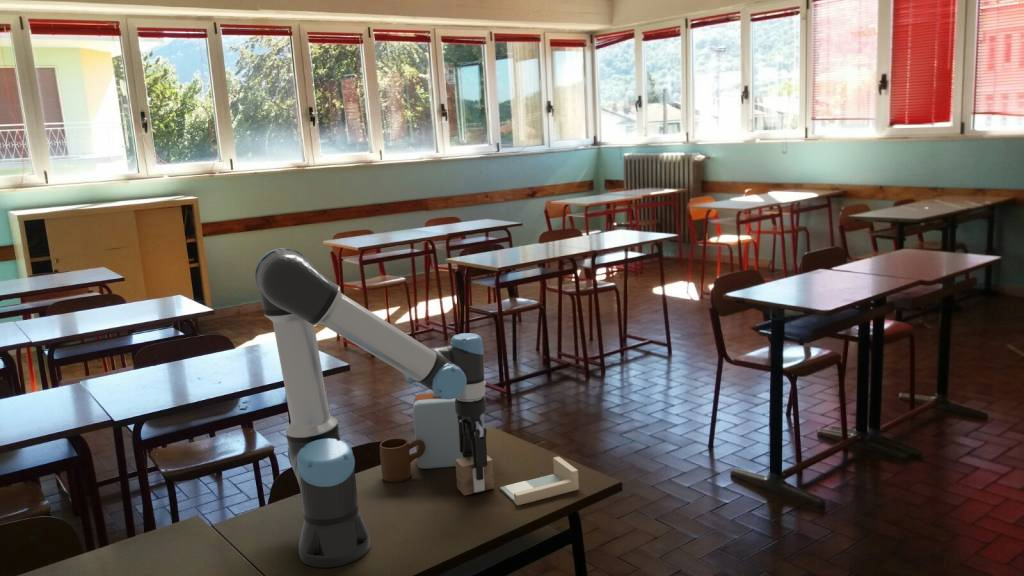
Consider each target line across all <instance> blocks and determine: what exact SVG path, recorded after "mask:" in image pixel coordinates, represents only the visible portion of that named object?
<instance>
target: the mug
mask: <svg viewBox="0 0 1024 576" xmlns="http://www.w3.org/2000/svg"><path fill="white" fill-rule="evenodd" d="M416 445H419V450H418V451H413V452H412V453H410V450H412V449H413V448H414V447H416ZM424 451H425V444H424V442H423V441H422V440H419V439H416V440H415V439H413V440H411V441H410V442H409V441H408V440H407V439H406V438H402V437H401V438H399V437H396V438H395V437H394V438H393V437H392V438H389V439H388V438H387V439H385V440H383V441H382V442H381V443H380V444H379V458H380V459H379V460H380V468H381V476H382V479H383V480H384V481H385V482H388V483H399V482H400V483H401V482H403V481H406V480H408V479H409V478H410V477H411V476H412V466H411V463H412V462H413V461H415V459H416V460H417V458H419V457H420V456H422V454H423V453H424Z"/></svg>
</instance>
